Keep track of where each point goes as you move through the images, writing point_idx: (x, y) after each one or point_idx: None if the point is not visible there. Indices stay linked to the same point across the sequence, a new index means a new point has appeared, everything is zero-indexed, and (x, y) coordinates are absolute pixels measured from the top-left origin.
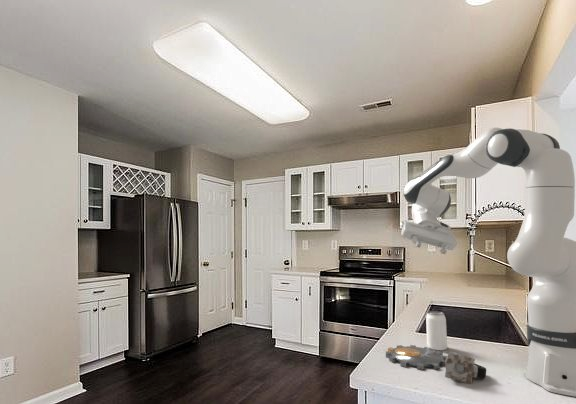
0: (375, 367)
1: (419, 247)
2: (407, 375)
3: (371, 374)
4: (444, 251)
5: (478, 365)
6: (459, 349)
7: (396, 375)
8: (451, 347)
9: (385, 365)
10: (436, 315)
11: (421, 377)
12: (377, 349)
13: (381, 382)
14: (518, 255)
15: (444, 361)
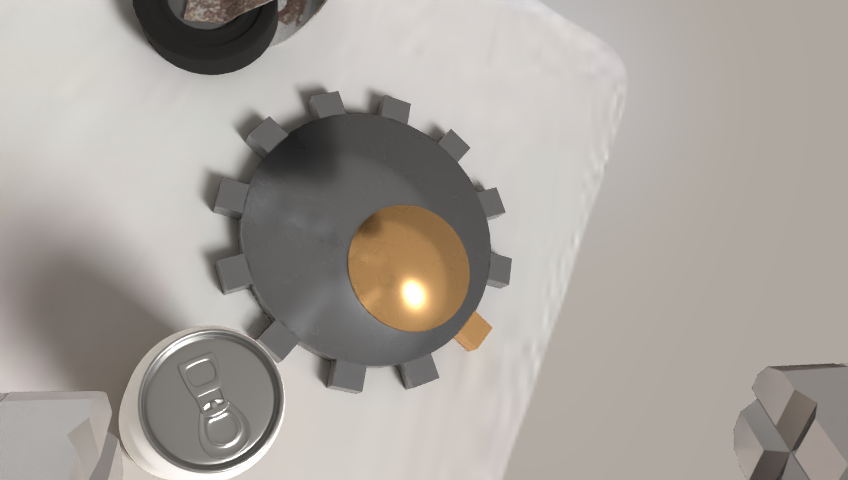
0: (558, 148)
1: (742, 434)
2: (457, 62)
3: (577, 87)
4: (48, 392)
5: (150, 8)
6: None
7: (496, 68)
8: None
9: (519, 165)
10: (233, 334)
11: (411, 38)
12: (525, 375)
13: (553, 22)
14: None
15: (269, 131)
